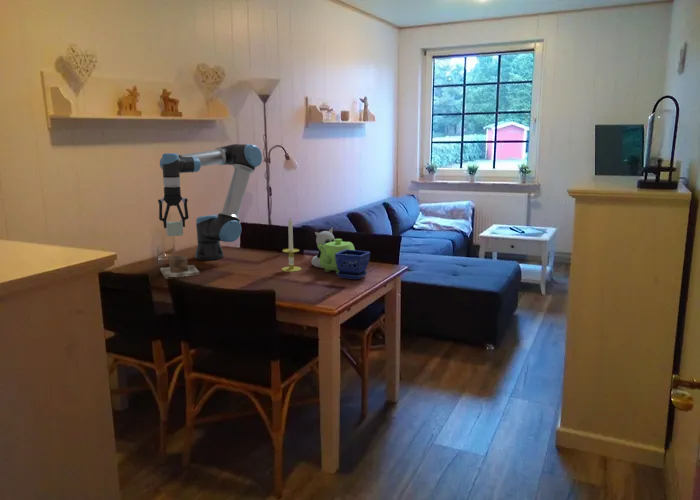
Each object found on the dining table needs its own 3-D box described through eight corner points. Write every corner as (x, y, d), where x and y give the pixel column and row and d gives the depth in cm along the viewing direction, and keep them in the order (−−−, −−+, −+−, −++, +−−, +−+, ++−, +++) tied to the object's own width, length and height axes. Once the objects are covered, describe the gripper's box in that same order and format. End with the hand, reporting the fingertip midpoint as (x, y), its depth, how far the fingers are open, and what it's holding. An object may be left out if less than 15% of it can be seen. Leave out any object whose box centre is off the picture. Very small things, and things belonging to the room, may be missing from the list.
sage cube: (180, 233, 272) (179, 221, 271) (182, 235, 267) (181, 223, 265) (167, 234, 270) (167, 222, 268) (169, 236, 264) (168, 223, 263)
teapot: (331, 262, 292) (331, 232, 289) (364, 268, 279) (364, 237, 275) (298, 271, 273) (298, 240, 270) (332, 278, 260) (332, 245, 256)
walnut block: (186, 267, 276) (185, 255, 275) (188, 271, 269) (187, 258, 267) (169, 268, 273) (168, 256, 272) (171, 272, 266) (170, 260, 265)
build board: (193, 267, 282) (193, 264, 281) (199, 274, 268) (199, 271, 267) (160, 270, 275) (160, 267, 275) (164, 278, 261) (164, 275, 261)
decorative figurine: (318, 270, 276) (318, 230, 272) (307, 264, 288) (306, 226, 284) (345, 267, 283) (345, 228, 278) (332, 261, 295) (332, 224, 291)
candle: (305, 268, 280) (304, 215, 275) (295, 272, 272) (293, 218, 266) (288, 266, 285) (286, 214, 279) (277, 270, 276) (276, 216, 270)
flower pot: (360, 281, 253) (361, 255, 252) (333, 278, 258) (334, 252, 256) (370, 276, 266) (371, 251, 264) (344, 273, 270) (345, 249, 269)
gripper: (191, 184, 270) (193, 231, 275) (150, 186, 263) (153, 234, 268) (193, 186, 264) (196, 234, 268) (151, 187, 256) (154, 236, 261)
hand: (174, 234), depth 268 cm, fingers closed on sage cube, 6 cm apart
